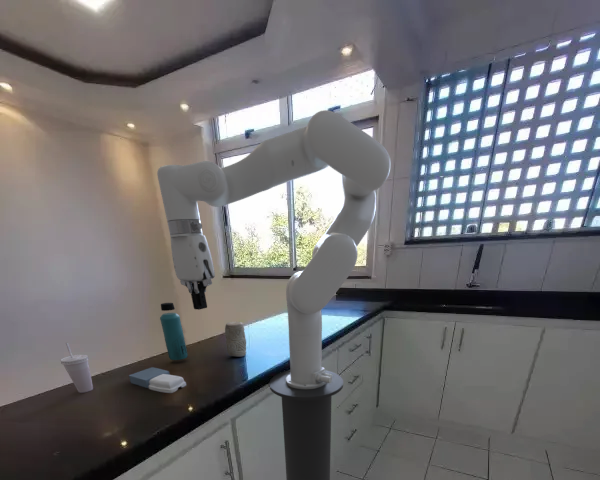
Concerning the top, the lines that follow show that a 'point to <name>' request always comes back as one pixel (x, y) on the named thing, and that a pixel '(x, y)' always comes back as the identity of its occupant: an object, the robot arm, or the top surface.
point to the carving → (235, 339)
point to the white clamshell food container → (166, 383)
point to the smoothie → (78, 370)
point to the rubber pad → (146, 376)
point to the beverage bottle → (173, 333)
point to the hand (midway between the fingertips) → (200, 308)
